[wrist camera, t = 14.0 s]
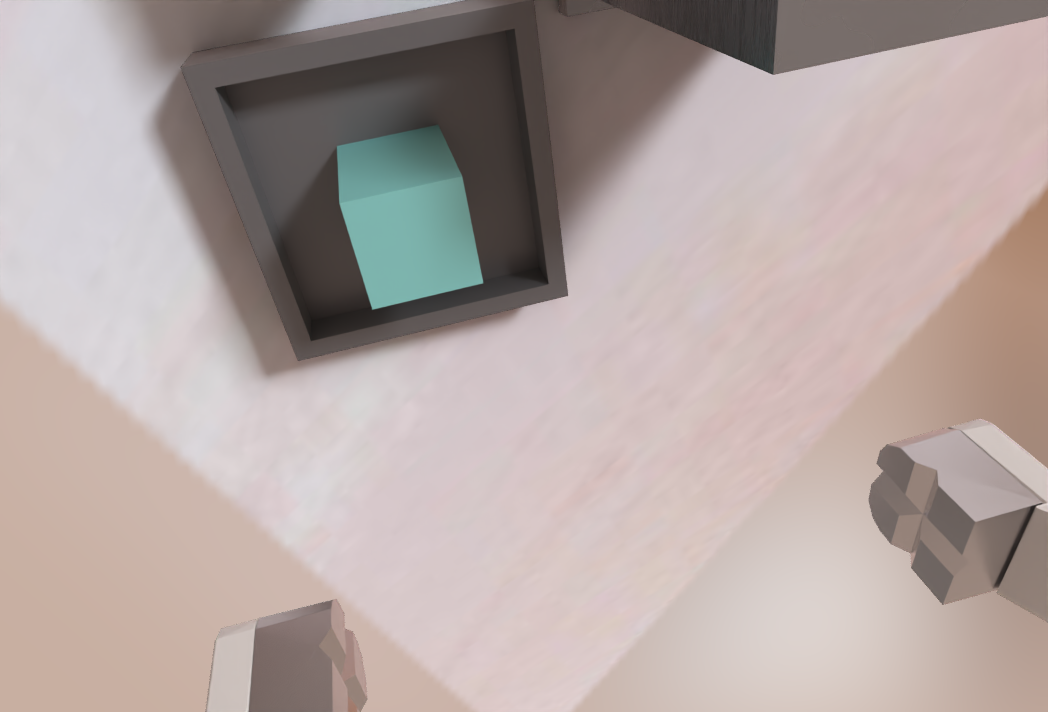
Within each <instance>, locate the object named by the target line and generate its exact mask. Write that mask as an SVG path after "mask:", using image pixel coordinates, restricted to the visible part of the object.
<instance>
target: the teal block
mask: <svg viewBox="0 0 1048 712" xmlns="http://www.w3.org/2000/svg"><path fill="white" fill-rule="evenodd" d="M337 161H338V183H339V204H340V207H341V210H342V213H343V217H344V220H345V223H346V226H347V230H348V233H349V236H350V239H351V242H352V246H353V249H354V252H355V255H356V258H357V262H358V265H359V268H360V271H361V275H362V278H363V281H364V284H365V287H366V291H367V294H368V297H369V300H370V304H371V307H372V310H373V309H377V308H381V307H386V306H390V305H394V304H398V303H402V302H406V301H411V300H415V299H419V298H423V297H427V296H432V295H436V294H440V293H444V292H448V291H453V290H457V289H461V288H465V287H469V286H474V285H478V284H482V283H483V279H482V274H481V269H480V264H479V259H478V254H477V249H476V243H475V238H474V233H473V228H472V223H471V218H470V213H469V208H468V203H467V198H466V193H465V188H464V183H463V178H462V175H461V173H460V170H459V168H458V166H457V164H456V162H455V160H454V158H453V155H452V153H451V151H450V149H449V147H448V145H447V143H446V140H445V138H444V136H443V134H442V132H441V130H440V127H439V125H434V126H430V127H425V128H420V129H415V130H411V131H406V132H401V133H397V134H392V135H387V136H382V137H378V138H373V139H368V140H364V141H359V142H354V143H349V144H345V145H340V146H337Z"/></svg>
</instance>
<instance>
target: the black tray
mask: <svg viewBox="0 0 1048 712" xmlns="http://www.w3.org/2000/svg"><path fill="white" fill-rule="evenodd" d="M181 70H182V72H183V75H184V77H185V80H186V82H187V85H188V87H189V90H190V92H191V95H192V97H193V100H194V102H195V105H196V107H197V110H198V112H199V115H200V117H201V120H202V122H203V125H204V127H205V130H206V132H207V135H208V137H209V140H210V142H211V145H212V147H213V150H214V152H215V155H216V157H217V160H218V162H219V165H220V167H221V170H222V172H223V175H224V177H225V180H226V182H227V185H228V187H229V190H230V192H231V195H232V197H233V200H234V202H235V205H236V207H237V210H238V212H239V215H240V217H241V220H242V222H243V225H244V227H245V230H246V232H247V235H248V237H249V240H250V242H251V245H252V247H253V250H254V252H255V255H256V257H257V260H258V262H259V265H260V267H261V270H262V272H263V275H264V277H265V280H266V282H267V285H268V287H269V290H270V292H271V295H272V297H273V300H274V302H275V305H276V307H277V310H278V312H279V315H280V317H281V320H282V322H283V325H284V327H285V330H286V332H287V335H288V337H289V339H290V342H291V344H292V347H293V349H294V352H295V354H296V357H297V359H298V361H301V360H305V359H309V358H313V357H317V356H321V355H325V354H330V353H334V352H338V351H342V350H346V349H350V348H354V347H358V346H363V345H367V344H371V343H375V342H379V341H383V340H387V339H392V338H396V337H400V336H404V335H408V334H412V333H416V332H420V331H425V330H429V329H433V328H437V327H441V326H445V325H449V324H453V323H458V322H462V321H466V320H470V319H474V318H478V317H482V316H486V315H491V314H495V313H499V312H503V311H507V310H511V309H515V308H520V307H524V306H528V305H532V304H536V303H540V302H544V301H548V300H553V299H557V298H561V297H565V296H568V290H567V282H566V273H565V264H564V256H563V247H562V239H561V230H560V221H559V213H558V204H557V196H556V187H555V178H554V170H553V161H552V153H551V144H550V135H549V127H548V118H547V110H546V101H545V92H544V84H543V75H542V67H541V58H540V49H539V41H538V32H537V24H536V15H535V6H534V0H465V1H460V2H455V3H449V4H444V5H439V6H434V7H428V8H423V9H418V10H413V11H408V12H402V13H397V14H392V15H387V16H381V17H376V18H371V19H366V20H360V21H355V22H350V23H345V24H340V25H334V26H329V27H324V28H319V29H313V30H308V31H303V32H298V33H292V34H287V35H282V36H277V37H272V38H266V39H261V40H256V41H251V42H245V43H240V44H235V45H230V46H224V47H219V48H214V49H209V50H203V51H198V52H193V53H192V54H191V55H190V56H189V57H188V59H187V60H186V61H185V63H184V64H183V65H182V66H181ZM434 125H439V127H440V130H441V132H442V134H443V136H444V138H445V140H446V143H447V145H448V147H449V149H450V151H451V153H452V155H453V158H454V160H455V162H456V164H457V166H458V168H459V170H460V173H461V175H462V178H463V183H464V188H465V193H466V198H467V203H468V208H469V213H470V218H471V223H472V228H473V233H474V238H475V243H476V249H477V254H478V259H479V264H480V269H481V274H482V279H483V283H482V284H478V285H474V286H469V287H465V288H461V289H457V290H453V291H448V292H444V293H440V294H436V295H432V296H427V297H423V298H419V299H415V300H411V301H406V302H402V303H398V304H394V305H390V306H386V307H381V308H377V309H373V310H372V307H371V304H370V300H369V297H368V294H367V291H366V287H365V284H364V281H363V278H362V275H361V271H360V268H359V265H358V262H357V258H356V255H355V252H354V249H353V246H352V242H351V239H350V236H349V233H348V230H347V226H346V223H345V220H344V217H343V213H342V210H341V207H340V204H339V183H338V161H337V146H340V145H345V144H349V143H354V142H359V141H364V140H368V139H373V138H378V137H382V136H387V135H392V134H397V133H401V132H406V131H411V130H415V129H420V128H425V127H430V126H434Z"/></svg>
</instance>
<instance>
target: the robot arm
mask: <svg viewBox="0 0 1048 712" xmlns="http://www.w3.org/2000/svg"><path fill="white" fill-rule="evenodd" d="M877 465H878V466H879V467H880V468H881V469H882V470H883V472H882V473H881V475H879V477H878V478H877V479H876V480H875V481H874V482H873V483H872V485H871V490H870V495H869V504H870V508H871V512H872V516H873V519H874V521H875V522H876V524H877V526H878V528H879V530H880V531H881V532H882V534H883V535H884V536H885V537H886V538H887V540H888V541H889V542H890V543H891V544H892V545H894V546H896V547H899V548H901V549H903V550H905V551H907V552H909V553H910V554H911V568H912V569H913V571H914V572H915V573H916V574H917V575H918V576H919V578H920V579H921V580H922V581H923V582H924V583H925V585H926V586H927V587H928V588H929V589H930V590H931V592H932V593H933V594H934V595H935V596H936V597H937V599H938V600H939V601H940V602H941V603H942V605H944V604H948V603H952V602H955V601H959V600H962V599H966V598H969V597H973V596H977V595H980V594H983V593H987V592H991V591H994V590H997V594H999V595H1000V596H1002V597H1004V598H1006V599H1007V600H1009V601H1011V602H1013V603H1014V604H1016V605H1018V606H1020V607H1021V608H1023V609H1025V610H1027V611H1028V612H1030V613H1032V614H1034V615H1036V616H1037V617H1039V618H1041V619H1043V620H1045V621H1046V622H1048V469H1047V468H1046V467H1045V466H1044V465H1043V464H1041V463H1040V462H1039V461H1038V460H1036V459H1035V458H1034V457H1033V456H1032V455H1030V454H1029V453H1028V452H1027V451H1026V450H1024V449H1023V448H1022V447H1021V446H1019V445H1018V444H1017V443H1016V442H1015V441H1013V440H1012V439H1011V438H1010V437H1008V436H1007V435H1006V434H1005V433H1004V432H1002V431H1001V430H1000V429H998V428H997V427H996V426H995V425H994V424H992V423H990V422H988V421H985V420H983V419H977V420H973V421H969V422H966V423H963V424H959V425H955V426H952V427H949V428H942V429H938V430H935V431H931V432H928V433H925V434H921V435H918V436H914V437H911V438H908V439H904V440H901V441H897V442H894V443H891V444H887V445H886V446H885V447H884V448H883V449H882V450H881V451H880V453H879V457H878V461H877ZM366 701H367V688H366V677H365V671H364V666H363V660H362V655H361V652H360V648H359V645H358V642H357V640H356V637H355V635H354V633H353V632H352V631H350V630H347V629H345V620H344V612H343V610H342V608H341V606H340V604H339V602H338V600H337V599H334V600H331V601H326V602H322V603H318V604H314V605H310V606H307V607H302V608H298V609H294V610H290V611H287V612H282V613H279V614H274V615H271V616H266V617H262V618H258V619H255V620H251V621H248V622H244V623H240V624H236V625H233V626H229V627H225V628H221V630H220V632H219V634H218V636H217V638H216V640H215V644H214V651H213V659H212V666H211V674H210V682H209V689H208V697H207V704H206V711H205V712H361V710H362V708H363V706H364V705H365V703H366Z"/></svg>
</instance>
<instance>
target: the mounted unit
mask: <svg viewBox="0 0 1048 712" xmlns="http://www.w3.org/2000/svg"><path fill="white" fill-rule="evenodd" d="M558 7H559V12H560V13H562V14H564V15H565V16H567V17H569V16H574V15H579V14H584V13H589V12H594V11H599V10H604V9H610V8H615V7H617V8H619V9H621V10H624V11H626V12H628V13H631V14H633V15H635V16H638V17H640V18H642V19H645V20H647V21H649V22H652V23H654V24H656V25H659V26H661V27H663V28H666V29H668V30H670V31H673V32H675V33H677V34H680V35H682V36H684V37H687V38H689V39H691V40H694V41H696V42H698V43H701V44H703V45H705V46H707V47H710V48H712V49H714V50H717V51H719V52H721V53H724V54H726V55H728V56H731V57H733V58H735V59H738V60H740V61H742V62H745V63H747V64H749V65H752V66H754V67H756V68H759V69H761V70H763V71H766V72H768V73H770V74H773V75H775V74H779V73H784V72H789V71H793V70H798V69H803V68H807V67H812V66H817V65H822V64H826V63H831V62H836V61H840V60H845V59H850V58H854V57H859V56H864V55H868V54H873V53H878V52H882V51H887V50H892V49H896V48H901V47H906V46H911V45H915V44H920V43H925V42H929V41H934V40H939V39H943V38H948V37H953V36H957V35H962V34H967V33H971V32H976V31H981V30H986V29H990V28H995V27H1000V26H1004V25H1009V24H1014V23H1018V22H1023V21H1028V20H1032V19H1037V18H1042V17H1046V16H1048V0H558Z"/></svg>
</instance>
